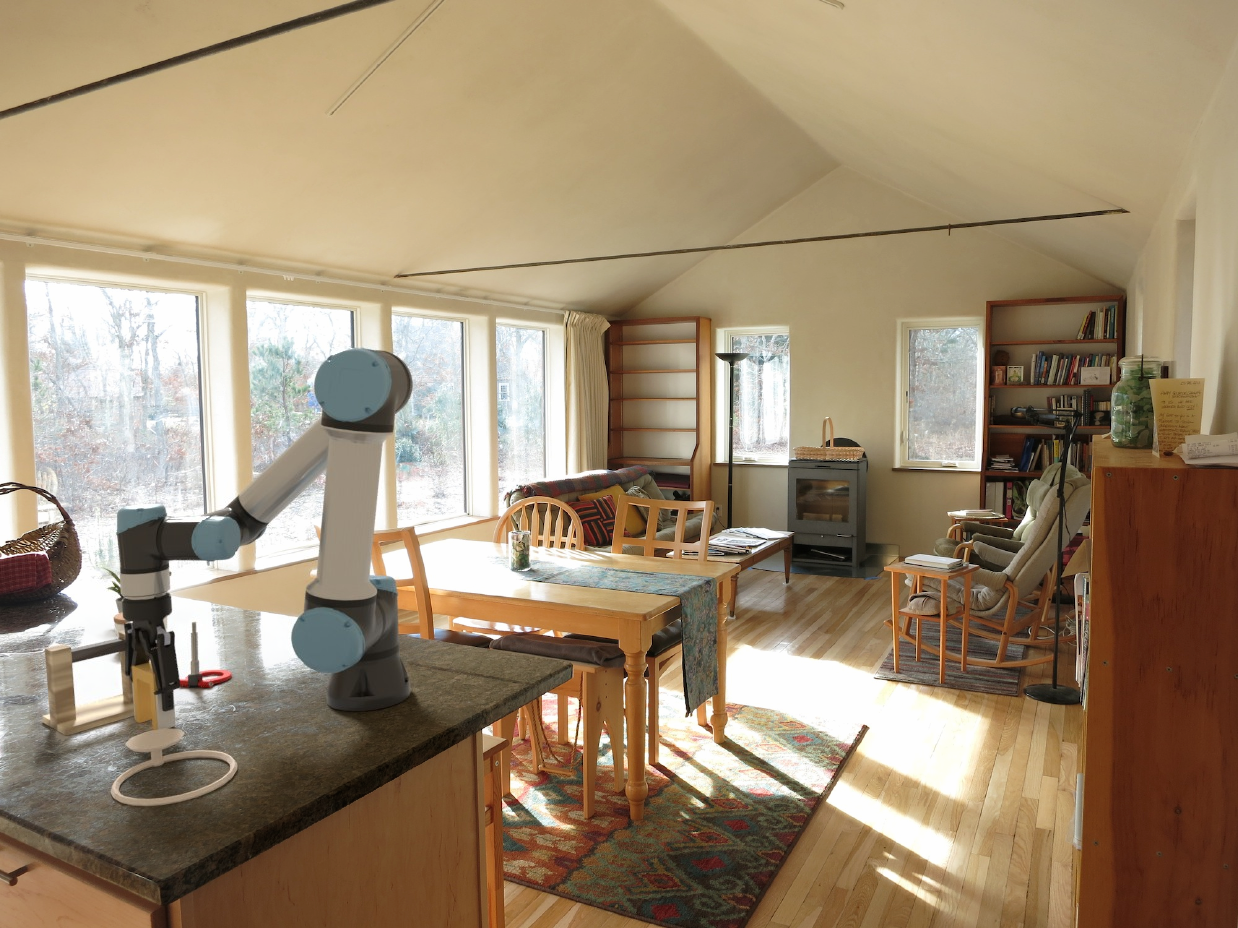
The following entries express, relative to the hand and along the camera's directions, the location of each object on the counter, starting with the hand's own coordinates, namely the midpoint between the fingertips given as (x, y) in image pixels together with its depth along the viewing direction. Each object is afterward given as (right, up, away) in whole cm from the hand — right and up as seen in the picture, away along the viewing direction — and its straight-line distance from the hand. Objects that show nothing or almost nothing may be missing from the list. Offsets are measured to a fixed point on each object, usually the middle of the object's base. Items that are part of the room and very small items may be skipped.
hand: (154, 721), depth 153 cm
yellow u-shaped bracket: (0, 0, 0) cm, 0 cm away
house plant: (-40, +5, +67) cm, 79 cm away
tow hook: (-1, +1, +23) cm, 23 cm away
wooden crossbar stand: (-12, 0, +4) cm, 13 cm away
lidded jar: (-27, +3, +46) cm, 54 cm away
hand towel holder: (+14, -2, -21) cm, 25 cm away
